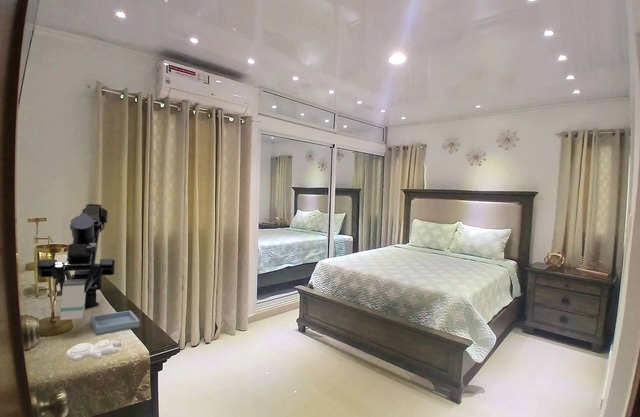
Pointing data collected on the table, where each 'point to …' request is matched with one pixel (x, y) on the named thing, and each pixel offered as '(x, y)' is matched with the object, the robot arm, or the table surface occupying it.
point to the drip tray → (114, 322)
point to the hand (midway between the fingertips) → (73, 292)
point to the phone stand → (68, 276)
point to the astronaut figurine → (93, 349)
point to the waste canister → (73, 299)
